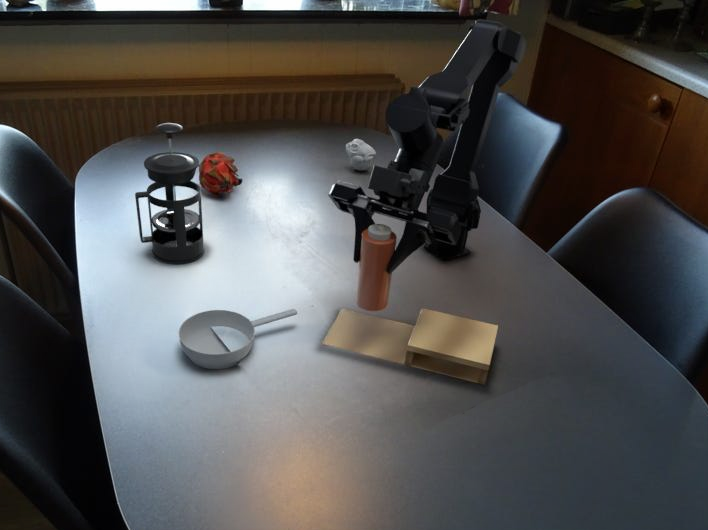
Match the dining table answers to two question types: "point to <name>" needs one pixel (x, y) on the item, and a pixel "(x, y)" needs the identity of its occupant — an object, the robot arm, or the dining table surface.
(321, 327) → the dining table surface
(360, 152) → the frog figurine
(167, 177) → the french press
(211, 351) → the saucepan
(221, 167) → the dragon fruit
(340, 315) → the stand
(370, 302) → the pepper mill
